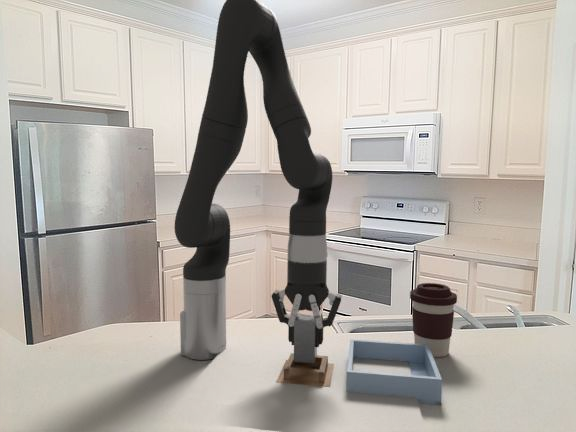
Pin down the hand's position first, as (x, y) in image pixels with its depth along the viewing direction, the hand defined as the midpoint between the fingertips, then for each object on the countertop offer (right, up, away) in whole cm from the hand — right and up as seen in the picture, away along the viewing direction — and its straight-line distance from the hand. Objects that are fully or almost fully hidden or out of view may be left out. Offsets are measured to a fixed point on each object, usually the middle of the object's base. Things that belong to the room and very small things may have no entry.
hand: (305, 344), depth 81 cm
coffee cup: (+29, -6, +13) cm, 32 cm away
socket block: (0, -7, 0) cm, 7 cm away
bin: (+16, -7, -1) cm, 18 cm away
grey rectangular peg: (0, -3, 0) cm, 3 cm away
